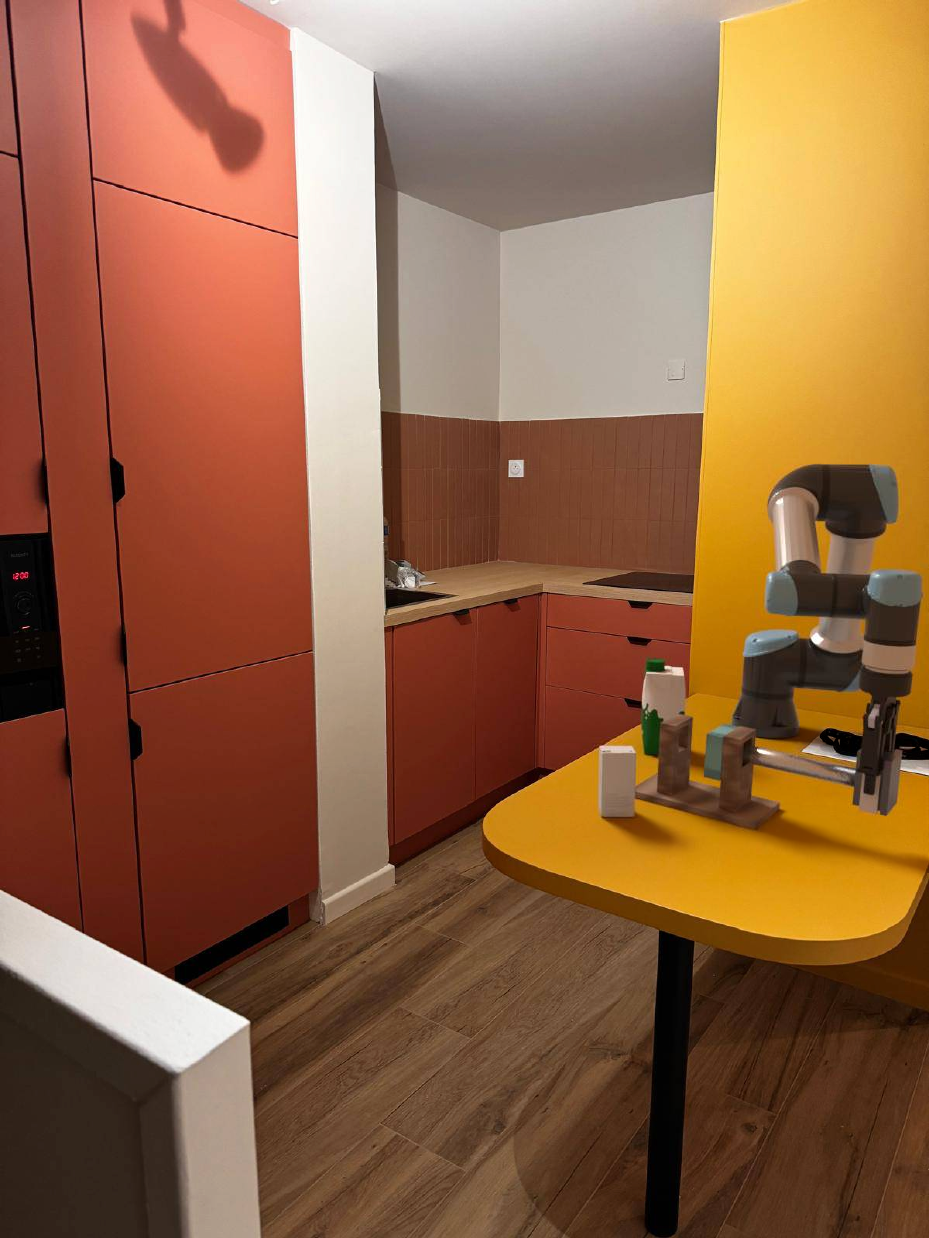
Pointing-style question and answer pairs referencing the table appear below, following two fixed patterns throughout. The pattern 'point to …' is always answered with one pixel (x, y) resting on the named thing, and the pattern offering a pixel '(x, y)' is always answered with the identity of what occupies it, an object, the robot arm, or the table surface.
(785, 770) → the shaft
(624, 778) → the skincare box
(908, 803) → the table surface
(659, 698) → the milk carton
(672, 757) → the bearing stand
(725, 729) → the spacer ring
